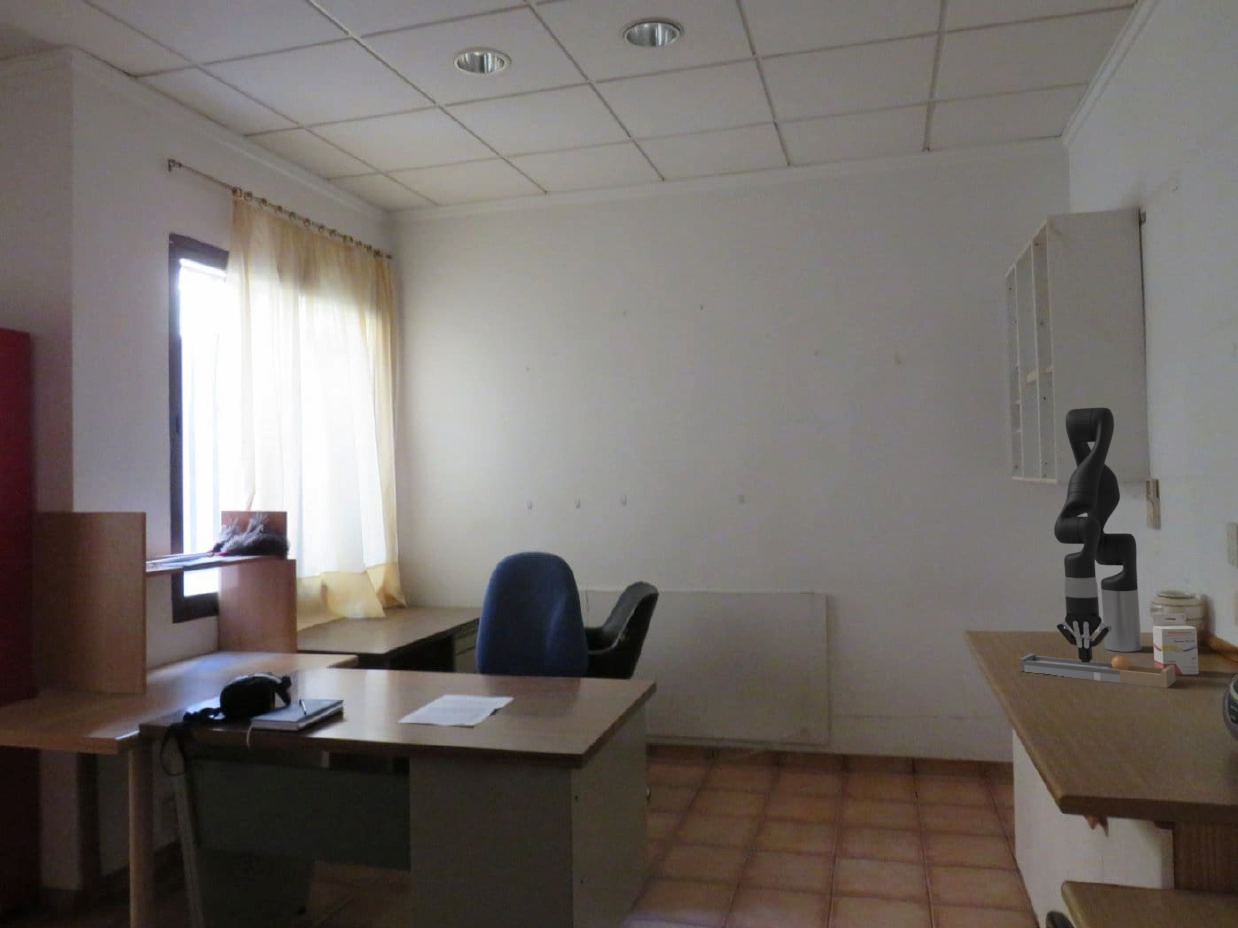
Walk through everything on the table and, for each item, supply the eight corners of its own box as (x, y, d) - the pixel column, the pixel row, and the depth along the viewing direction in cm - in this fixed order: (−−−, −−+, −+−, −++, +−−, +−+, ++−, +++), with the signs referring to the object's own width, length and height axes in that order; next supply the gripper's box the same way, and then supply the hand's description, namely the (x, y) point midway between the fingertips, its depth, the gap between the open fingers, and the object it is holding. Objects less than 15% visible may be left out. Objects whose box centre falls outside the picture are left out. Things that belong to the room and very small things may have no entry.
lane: (1032, 666, 243) (1031, 651, 243) (1175, 681, 219) (1174, 664, 219) (1020, 671, 237) (1019, 656, 238) (1166, 687, 214) (1165, 671, 214)
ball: (1133, 658, 224) (1128, 672, 224) (1117, 651, 226) (1112, 665, 227) (1129, 660, 221) (1124, 675, 222) (1112, 653, 223) (1107, 668, 224)
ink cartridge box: (1164, 675, 226) (1160, 616, 226) (1154, 671, 231) (1150, 613, 231) (1200, 674, 225) (1196, 615, 225) (1189, 670, 230) (1185, 612, 230)
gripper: (1114, 593, 228) (1118, 661, 228) (1059, 591, 237) (1063, 656, 237) (1104, 597, 223) (1109, 667, 222) (1049, 594, 232) (1053, 661, 232)
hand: (1085, 661), depth 230 cm, fingers closed
